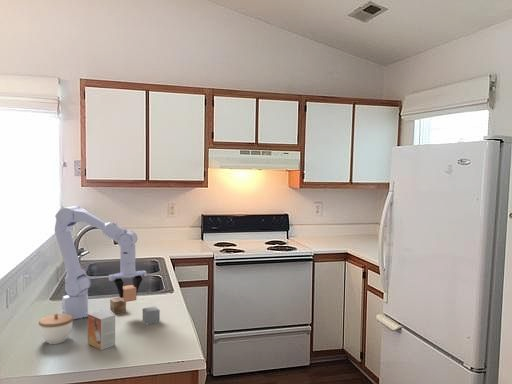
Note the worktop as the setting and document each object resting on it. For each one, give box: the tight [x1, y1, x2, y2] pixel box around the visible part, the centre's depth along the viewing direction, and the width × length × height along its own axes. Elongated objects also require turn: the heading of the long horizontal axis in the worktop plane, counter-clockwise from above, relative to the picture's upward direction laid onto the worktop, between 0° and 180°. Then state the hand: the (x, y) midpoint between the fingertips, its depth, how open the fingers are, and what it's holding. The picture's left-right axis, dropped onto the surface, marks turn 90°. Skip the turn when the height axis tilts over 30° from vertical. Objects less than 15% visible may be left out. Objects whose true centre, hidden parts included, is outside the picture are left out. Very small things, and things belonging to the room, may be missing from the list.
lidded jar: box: [38, 313, 74, 345], centre depth 150 cm, size 11×11×9 cm
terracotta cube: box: [120, 284, 137, 303], centre depth 173 cm, size 5×5×5 cm
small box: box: [87, 309, 116, 351], centre depth 147 cm, size 8×6×10 cm
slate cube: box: [142, 306, 161, 325], centre depth 169 cm, size 5×5×5 cm
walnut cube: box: [109, 297, 127, 314], centre depth 181 cm, size 5×5×5 cm
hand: (128, 296), depth 173 cm, fingers closed on terracotta cube, 5 cm apart
